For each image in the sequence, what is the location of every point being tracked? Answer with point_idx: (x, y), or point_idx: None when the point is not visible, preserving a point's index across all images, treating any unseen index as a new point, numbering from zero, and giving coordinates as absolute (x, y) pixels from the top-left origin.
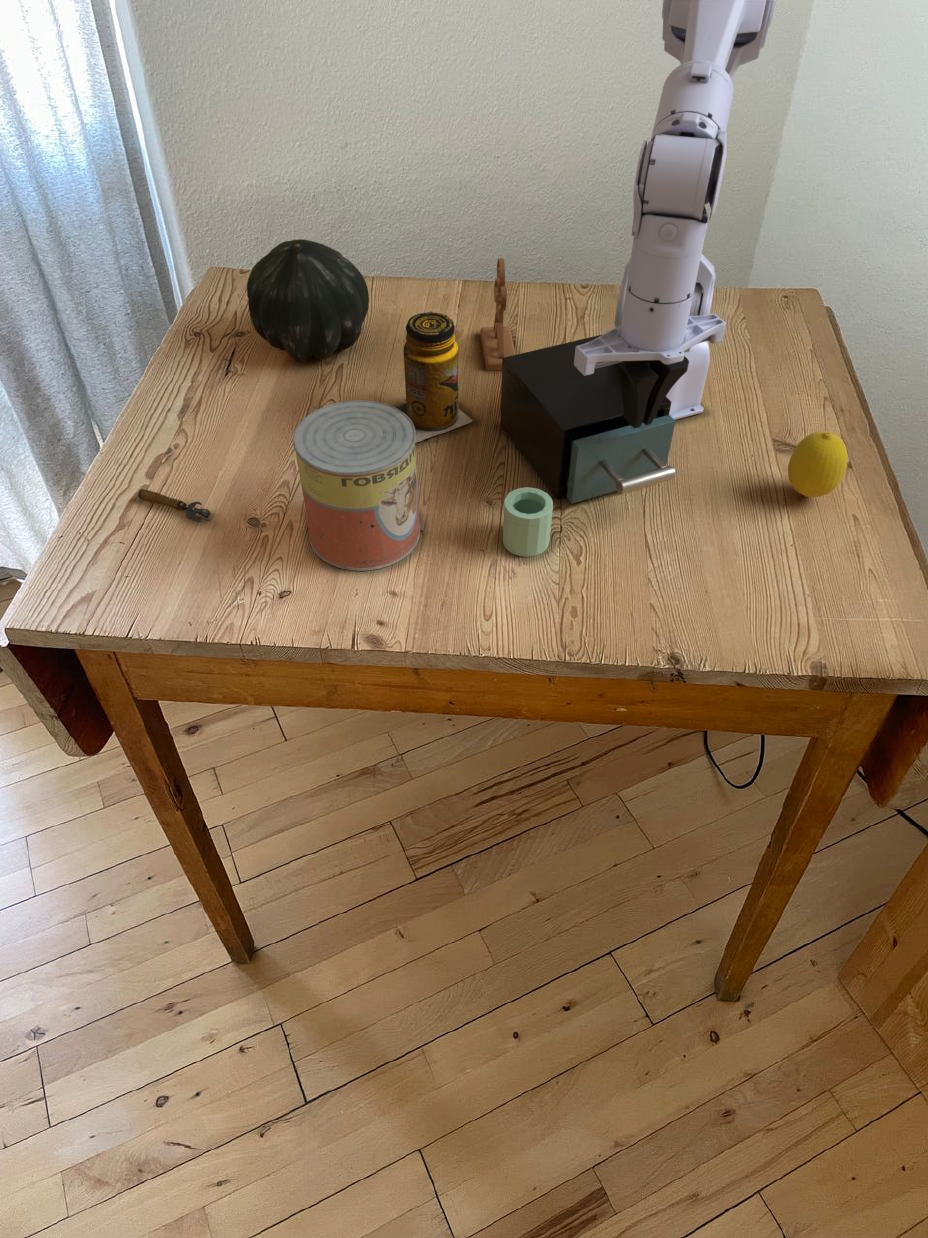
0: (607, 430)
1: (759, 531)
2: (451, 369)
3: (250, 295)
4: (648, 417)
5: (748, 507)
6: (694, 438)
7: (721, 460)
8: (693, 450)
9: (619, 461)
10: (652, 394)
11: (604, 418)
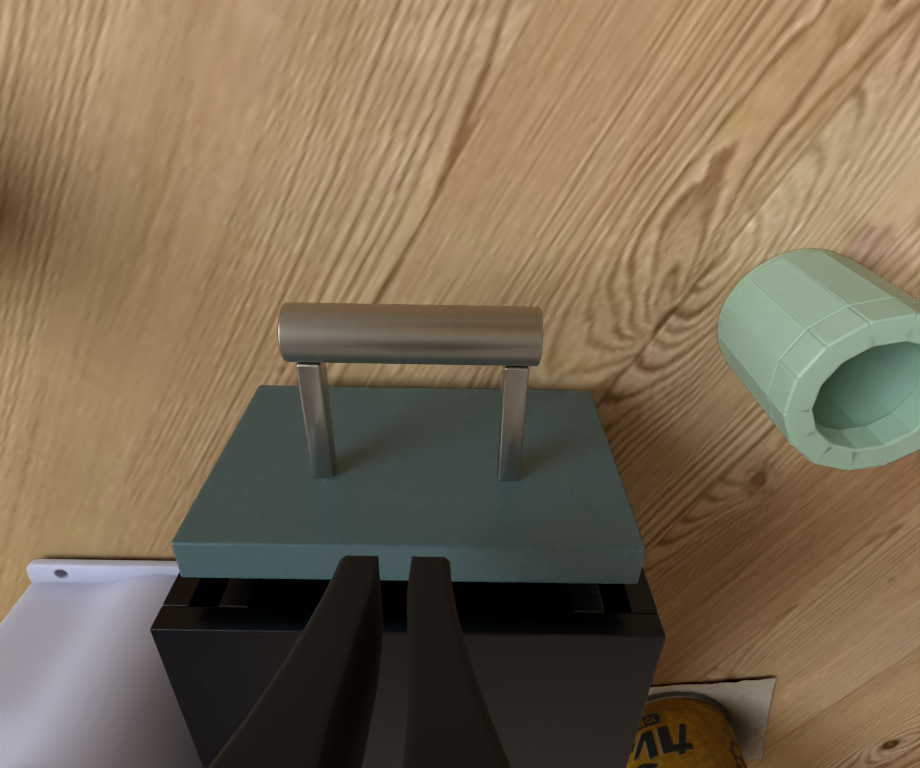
0: None
1: (13, 15)
2: None
3: None
4: (369, 594)
5: (17, 159)
6: (94, 489)
7: (41, 389)
8: (115, 452)
9: (434, 459)
10: (333, 749)
11: (472, 638)
